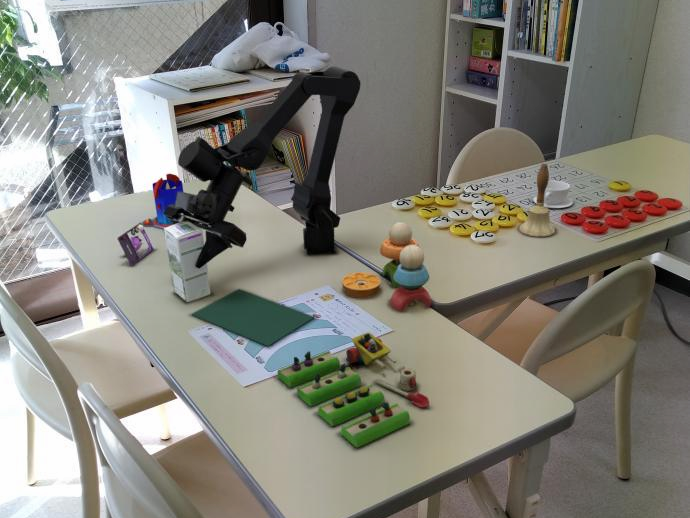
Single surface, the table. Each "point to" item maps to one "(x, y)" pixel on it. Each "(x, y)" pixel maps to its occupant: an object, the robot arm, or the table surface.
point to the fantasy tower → (164, 199)
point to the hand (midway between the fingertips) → (185, 263)
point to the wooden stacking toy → (395, 271)
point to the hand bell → (539, 210)
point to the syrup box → (187, 261)
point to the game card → (134, 244)
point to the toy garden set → (358, 400)
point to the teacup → (556, 195)
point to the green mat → (253, 317)
